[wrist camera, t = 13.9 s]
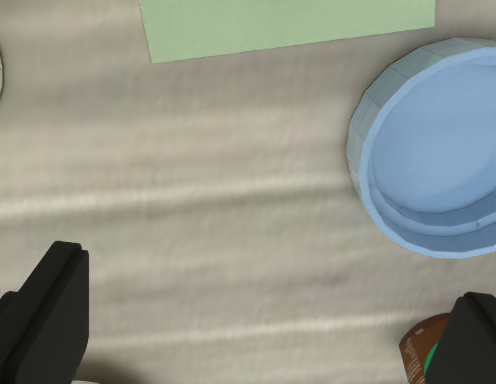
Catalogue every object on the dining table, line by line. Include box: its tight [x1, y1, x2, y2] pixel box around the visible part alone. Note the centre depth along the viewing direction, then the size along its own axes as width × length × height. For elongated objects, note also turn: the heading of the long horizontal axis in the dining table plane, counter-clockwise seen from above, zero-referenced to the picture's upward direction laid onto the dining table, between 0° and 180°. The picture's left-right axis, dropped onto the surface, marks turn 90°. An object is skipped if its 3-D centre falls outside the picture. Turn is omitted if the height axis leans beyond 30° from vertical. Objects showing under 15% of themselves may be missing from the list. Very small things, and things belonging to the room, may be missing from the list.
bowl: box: [346, 37, 496, 259], centre depth 33 cm, size 15×15×5 cm
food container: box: [399, 313, 451, 384], centre depth 39 cm, size 12×6×10 cm, turn 80°
